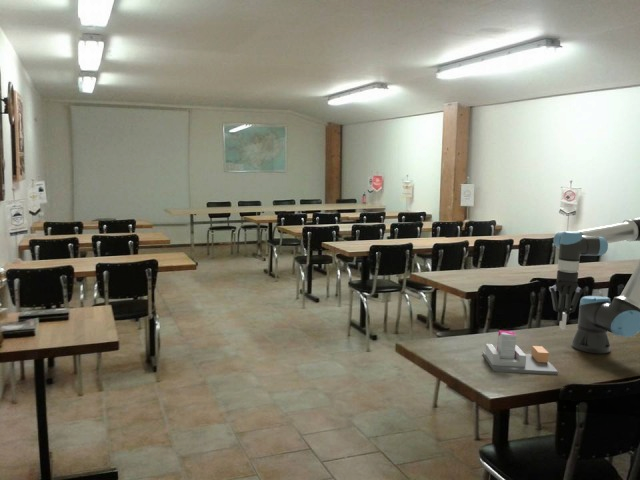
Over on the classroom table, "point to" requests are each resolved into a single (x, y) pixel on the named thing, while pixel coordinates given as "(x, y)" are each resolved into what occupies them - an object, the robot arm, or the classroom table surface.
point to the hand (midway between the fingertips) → (562, 328)
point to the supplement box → (506, 344)
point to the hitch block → (516, 362)
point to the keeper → (540, 354)
